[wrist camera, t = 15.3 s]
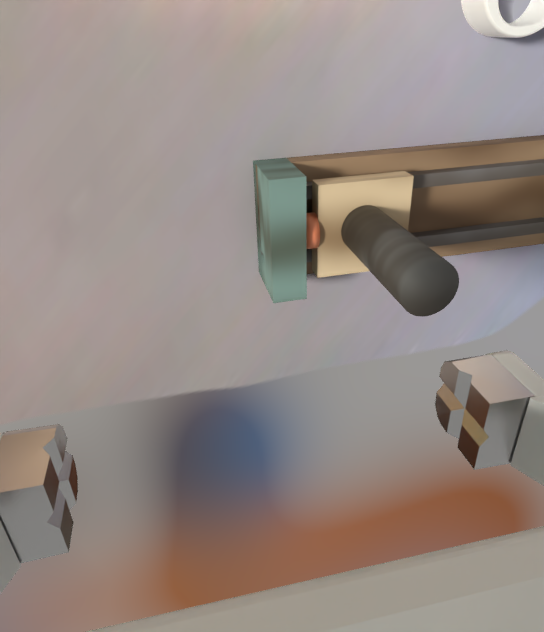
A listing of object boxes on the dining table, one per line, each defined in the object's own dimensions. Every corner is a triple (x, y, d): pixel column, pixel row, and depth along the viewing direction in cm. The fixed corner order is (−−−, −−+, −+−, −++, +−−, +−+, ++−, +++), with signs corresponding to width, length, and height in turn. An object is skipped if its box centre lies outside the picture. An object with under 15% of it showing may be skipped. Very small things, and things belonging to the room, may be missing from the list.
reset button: (296, 208, 37) (306, 220, 35) (310, 207, 37) (320, 219, 35) (297, 242, 38) (306, 255, 36) (309, 240, 38) (319, 253, 36)
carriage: (312, 179, 36) (375, 237, 26) (404, 170, 37) (498, 222, 27) (311, 269, 39) (367, 350, 29) (395, 258, 40) (476, 332, 31)
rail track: (253, 160, 37) (268, 180, 32) (585, 131, 42) (641, 144, 37) (259, 272, 41) (273, 303, 37) (558, 234, 46) (604, 257, 41)
